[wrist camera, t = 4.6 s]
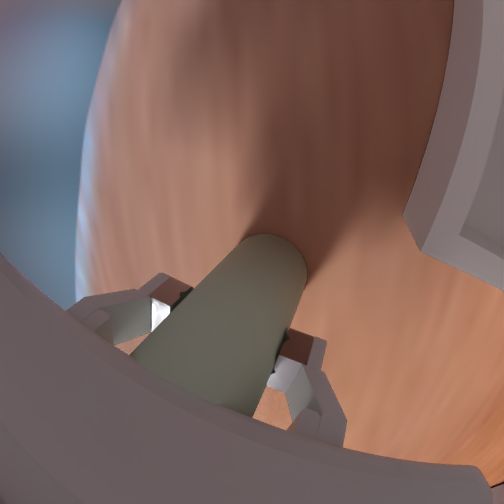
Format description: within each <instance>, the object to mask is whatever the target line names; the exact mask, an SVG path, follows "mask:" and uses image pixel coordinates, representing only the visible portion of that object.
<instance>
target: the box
mask: <svg viewBox="0 0 504 504" xmlns="http://www.w3.org/2000/svg"><path fill="white" fill-rule="evenodd" d="M402 216H403V218H404V220H405V222H406V224H407V226H408V228H409V230H410V232H411V234H412V236H413V238H414V240H415V242H416V244H417V246H418V248H419V250H420V252H421V253H424V254H426V255H428V256H430V257H433V258H435V259H437V260H439V261H442V262H444V263H446V264H448V265H450V266H453V267H455V268H457V269H459V270H461V271H463V272H465V273H468V274H470V275H472V276H474V277H476V278H478V279H480V280H482V281H484V282H486V283H488V284H490V285H492V286H494V287H496V288H498V289H500V290H502V291H504V0H454V14H453V24H452V33H451V41H450V48H449V54H448V60H447V66H446V71H445V76H444V81H443V86H442V91H441V95H440V99H439V104H438V108H437V112H436V116H435V119H434V123H433V127H432V130H431V134H430V137H429V141H428V144H427V147H426V151H425V154H424V157H423V160H422V163H421V166H420V169H419V172H418V175H417V178H416V181H415V183H414V186H413V189H412V192H411V194H410V197H409V200H408V202H407V205H406V207H405V210H404V212H403V215H402Z"/></svg>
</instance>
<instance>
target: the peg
mask: <svg viewBox="0 0 504 504" xmlns="http://www.w3.org/2000/svg"><path fill="white" fill-rule="evenodd" d="M306 281H307V267H306V263H305V261H304V258H303V256H302V255H301V253H300V252H299V251H298V249H297V248H296V247H295V246H294V245H293V244H291V243H290V242H289V241H287V240H285V239H284V238H281V237H279V236H276V235H272V234H256V235H252V236H249V237H247V238H246V239H244V240H243V241H241V242H240V243H239V244H238V245H237V246H236V247H235V248H234V249H233V250H232V251H231V252H230V253H229V254H228V255H227V256H226V257H225V258H224V259H223V260H222V261H221V262H220V263H219V264H218V265H217V266H216V267H215V268H214V269H213V270H212V271H211V272H210V273H209V274H208V275H207V276H206V277H205V278H204V279H203V280H202V281H201V282H200V283H199V284H198V285H197V286H196V287H195V288H194V289H193V290H192V291H191V292H190V293H189V294H188V295H187V296H186V298H185V299H184V300H183V301H182V302H181V303H180V304H179V305H178V306H177V307H176V308H175V309H174V310H173V311H172V312H171V313H170V314H169V315H168V316H167V317H166V318H165V319H164V320H163V321H162V322H161V323H160V324H159V325H158V326H157V327H156V328H155V329H154V330H153V331H152V332H151V333H150V334H149V335H148V336H147V337H146V339H145V340H144V341H143V342H142V343H141V344H140V345H139V346H138V347H137V348H136V349H135V350H134V351H133V352H132V353H131V354H130V355H129V356H131V357H133V358H134V359H135V360H136V361H137V363H138V364H140V365H141V366H143V367H145V368H146V369H148V370H150V371H151V372H153V373H155V374H157V375H158V376H160V377H162V378H164V379H166V380H167V381H169V382H171V383H173V384H175V385H177V386H179V387H180V388H182V389H184V390H186V391H188V392H190V393H192V394H194V395H196V396H198V397H200V398H202V399H204V400H207V401H209V402H211V403H213V404H217V405H222V406H225V407H227V408H230V409H232V410H234V411H237V412H239V413H241V414H244V415H246V416H249V417H251V418H252V417H253V415H254V412H255V410H256V408H257V406H258V403H259V401H260V399H261V396H262V394H263V392H264V389H265V387H266V385H267V382H268V380H269V378H270V375H271V373H272V370H273V368H274V364H275V362H276V360H277V357H278V355H279V352H280V350H281V348H282V345H283V342H284V340H285V337H286V335H287V333H288V330H289V328H290V325H291V323H292V320H293V317H294V315H295V312H296V309H297V307H298V304H299V301H300V298H301V296H302V293H303V290H304V287H305V284H306Z"/></svg>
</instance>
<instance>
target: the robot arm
mask: <svg viewBox="0 0 504 504" xmlns="http://www.w3.org/2000/svg"><path fill="white" fill-rule="evenodd" d="M193 289H194V288H193V287H192V286H190V285H188V284H185V283H183V282H181V281H179V280H177V279H175V278H173V277H171V276H169V275H167V274H165V273H159V274H157V275H156V276H155V277H154V278H152V279H151V280H150V281H148V282H147V283H146V284H145V285H143V286H142V287H141V288H140V289H138V290H136V289H130V290H124V291H118V292H112V293H106V294H100V295H94V296H88V297H84V298H83V299H81V300H80V301H78V302H77V303H76V304H74V305H73V306H72V307H71V308H69V309H68V310H66V311H65V310H64V309H62V308H61V307H60V306H59V305H58V304H56V303H55V302H54V301H53V300H52V299H50V298H49V297H48V296H47V295H46V294H44V293H43V292H42V291H41V290H39V288H37V287H36V286H35V285H34V284H33V283H32V282H31V281H30V280H28V279H27V278H26V277H25V276H24V275H23V274H22V273H21V272H20V271H19V270H17V268H16V267H14V266H13V265H12V264H11V263H10V262H9V261H8V260H7V259H6V258H5V256H4V255H3V254H2V253H0V504H504V484H502V485H499V486H496V487H494V488H490V486H489V484H488V482H487V481H486V479H485V477H484V475H483V474H482V472H481V471H480V470H479V469H478V468H477V467H476V466H471V465H451V464H437V463H426V462H417V461H410V460H403V459H396V458H390V457H385V456H379V455H374V454H369V453H364V452H360V451H356V450H351V449H347V448H343V442H344V436H345V431H346V425H347V419H346V417H345V415H344V412H343V410H342V408H341V406H340V404H339V402H338V400H337V398H336V396H335V394H334V391H333V389H332V387H331V385H330V383H329V381H328V379H327V377H326V375H325V373H324V372H322V371H321V368H322V363H323V359H324V354H325V349H326V344H327V341H326V340H323V339H321V338H318V337H315V336H311V335H308V334H306V333H303V332H300V331H298V330H295V329H292V328H289V330H288V333H287V335H286V337H285V340H284V342H283V345H282V348H281V350H280V352H279V355H278V357H277V360H276V362H275V364H274V368H273V370H272V373H271V375H270V378H269V380H268V382H267V386H269V387H271V388H274V389H276V390H279V391H281V392H284V393H286V394H285V395H286V399H287V403H288V407H289V411H290V415H291V419H292V424H291V425H290V426H289V428H288V429H287V430H283V429H280V428H278V427H275V426H272V425H269V424H267V423H264V422H261V421H259V420H256V419H254V418H251V417H249V416H246V415H244V414H241V413H239V412H237V411H234V410H232V409H230V408H227V407H225V406H222V405H217V404H213V403H211V402H209V401H207V400H204V399H202V398H200V397H198V396H196V395H194V394H192V393H190V392H188V391H186V390H184V389H182V388H180V387H179V386H177V385H175V384H173V383H171V382H169V381H167V380H166V379H164V378H162V377H160V376H158V375H157V374H155V373H153V372H151V371H150V370H148V369H146V368H145V367H143V366H141V365H140V364H138V363H137V361H136V360H135V359H134V358H133V357H131V356H129V355H128V354H126V353H125V352H123V351H121V350H120V349H118V348H117V347H115V346H114V345H116V344H119V343H122V342H125V341H128V340H131V339H134V338H137V337H139V336H142V335H145V334H148V333H151V332H152V331H153V330H154V329H155V328H156V327H157V326H158V325H159V324H160V323H161V322H162V321H163V320H164V319H165V318H166V317H167V316H168V315H169V314H170V313H171V312H172V311H173V310H174V309H175V308H176V307H177V306H178V305H179V304H180V303H181V302H182V301H183V300H184V299H185V298H186V296H187V295H188V294H189V293H190V292H191V291H192V290H193Z"/></svg>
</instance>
